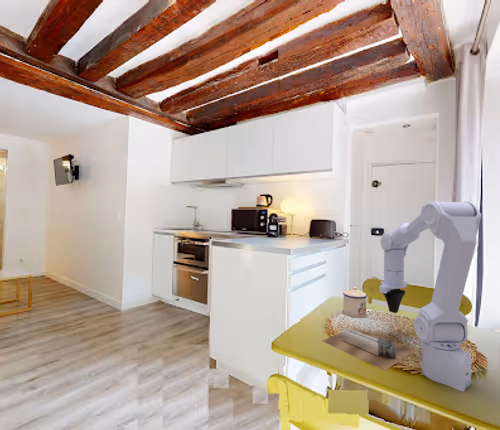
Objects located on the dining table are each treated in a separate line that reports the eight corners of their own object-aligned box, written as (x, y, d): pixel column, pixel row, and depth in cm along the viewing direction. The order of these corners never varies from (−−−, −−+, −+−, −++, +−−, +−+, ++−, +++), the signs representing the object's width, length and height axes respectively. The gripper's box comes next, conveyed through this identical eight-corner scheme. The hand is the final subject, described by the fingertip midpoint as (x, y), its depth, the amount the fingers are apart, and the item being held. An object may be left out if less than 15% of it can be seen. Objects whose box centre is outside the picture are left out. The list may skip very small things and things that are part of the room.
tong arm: (397, 356, 75) (397, 345, 75) (392, 359, 73) (393, 348, 73) (348, 336, 87) (349, 327, 87) (344, 338, 86) (344, 329, 86)
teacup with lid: (362, 321, 104) (362, 291, 104) (339, 315, 110) (339, 287, 110) (371, 313, 113) (371, 285, 113) (349, 308, 119) (350, 281, 119)
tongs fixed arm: (393, 356, 75) (393, 341, 75) (387, 359, 73) (387, 344, 73) (347, 337, 87) (347, 324, 87) (341, 339, 85) (341, 326, 85)
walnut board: (415, 353, 79) (416, 350, 79) (384, 374, 68) (384, 370, 68) (354, 330, 95) (354, 327, 95) (321, 343, 85) (321, 340, 85)
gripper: (392, 266, 95) (391, 304, 95) (370, 270, 86) (369, 312, 86) (413, 269, 89) (413, 310, 89) (392, 274, 81) (392, 319, 81)
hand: (393, 312), depth 87 cm, fingers closed
